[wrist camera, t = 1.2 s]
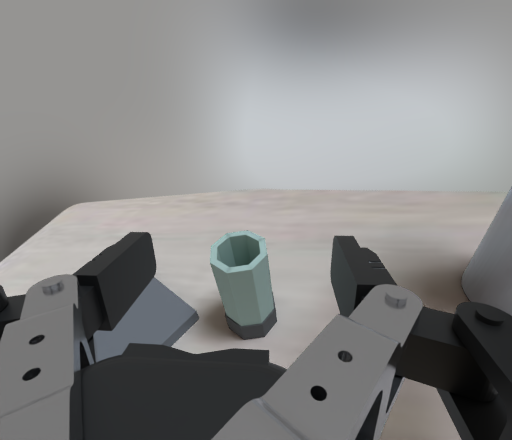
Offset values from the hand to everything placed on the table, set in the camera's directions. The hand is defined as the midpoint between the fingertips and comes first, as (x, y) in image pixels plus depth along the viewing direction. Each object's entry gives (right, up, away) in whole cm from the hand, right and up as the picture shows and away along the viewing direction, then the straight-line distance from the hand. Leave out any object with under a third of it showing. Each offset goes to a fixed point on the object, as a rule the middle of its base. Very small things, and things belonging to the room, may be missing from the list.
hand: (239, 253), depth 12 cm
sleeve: (0, -10, +20) cm, 23 cm away
